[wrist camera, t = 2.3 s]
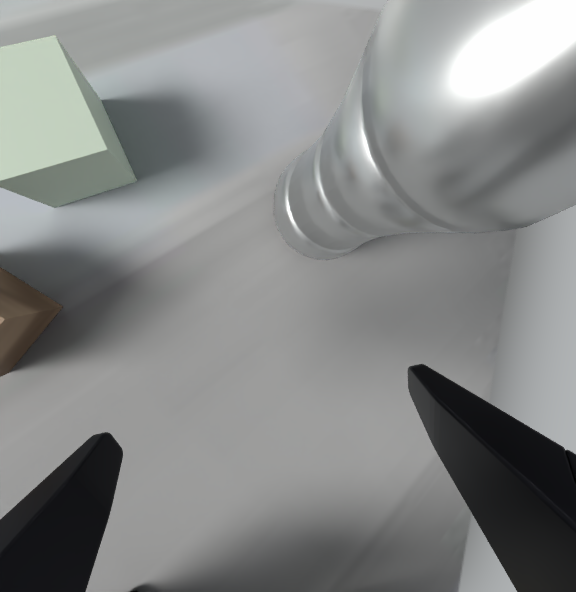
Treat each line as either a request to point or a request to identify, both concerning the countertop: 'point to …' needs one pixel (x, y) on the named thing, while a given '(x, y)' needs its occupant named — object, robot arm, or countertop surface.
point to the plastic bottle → (442, 128)
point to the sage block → (54, 128)
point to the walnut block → (21, 318)
